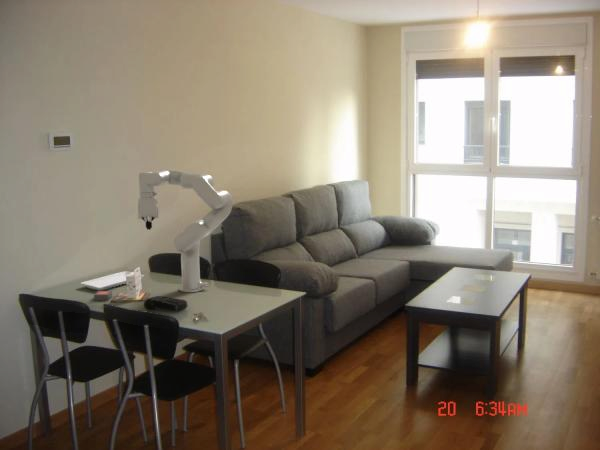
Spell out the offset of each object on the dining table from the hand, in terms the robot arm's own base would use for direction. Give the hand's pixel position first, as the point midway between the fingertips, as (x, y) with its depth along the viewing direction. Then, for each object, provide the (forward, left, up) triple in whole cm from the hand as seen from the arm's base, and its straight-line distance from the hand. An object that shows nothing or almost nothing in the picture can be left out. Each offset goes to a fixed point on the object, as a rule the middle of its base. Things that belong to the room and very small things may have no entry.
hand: (149, 229), depth 353 cm
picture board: (+7, +20, -32) cm, 38 cm away
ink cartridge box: (+5, +20, -31) cm, 38 cm away
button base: (+21, +20, -32) cm, 43 cm away
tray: (+23, -9, -33) cm, 41 cm away
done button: (+21, +20, -32) cm, 43 cm away
